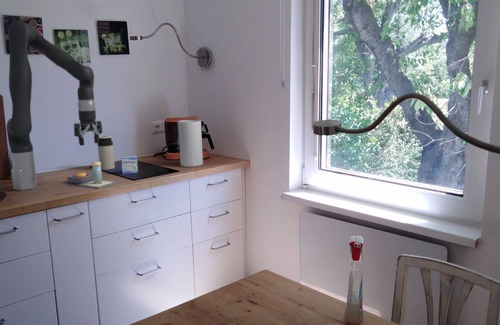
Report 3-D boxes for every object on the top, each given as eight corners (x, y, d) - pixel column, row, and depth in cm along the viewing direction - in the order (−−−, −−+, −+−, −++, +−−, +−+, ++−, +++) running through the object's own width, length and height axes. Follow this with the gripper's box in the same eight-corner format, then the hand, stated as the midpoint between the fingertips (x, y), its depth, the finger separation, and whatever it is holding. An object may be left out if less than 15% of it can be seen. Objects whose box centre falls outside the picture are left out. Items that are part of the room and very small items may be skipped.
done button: (80, 179, 221) (80, 175, 221) (73, 178, 224) (73, 174, 224) (88, 176, 226) (88, 173, 225) (81, 176, 228) (81, 172, 228)
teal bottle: (97, 184, 215) (95, 163, 213) (91, 183, 217) (89, 163, 215) (104, 182, 219) (102, 162, 217) (98, 181, 221) (96, 161, 219)
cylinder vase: (197, 167, 251) (195, 122, 247) (176, 166, 255) (174, 122, 251) (206, 163, 263) (204, 119, 258) (186, 162, 267) (184, 119, 262)
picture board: (98, 188, 210) (98, 187, 210) (77, 185, 217) (77, 184, 216) (117, 183, 220) (117, 181, 220) (97, 180, 227) (97, 179, 227)
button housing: (80, 184, 219) (79, 178, 219) (67, 182, 224) (67, 176, 223) (95, 180, 227) (94, 174, 226) (82, 178, 231) (82, 172, 231)
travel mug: (117, 167, 258) (115, 135, 254) (109, 170, 250) (106, 137, 247) (105, 167, 260) (102, 135, 256) (96, 170, 252) (94, 137, 249)
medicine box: (122, 174, 239) (121, 158, 238) (122, 172, 244) (121, 156, 242) (137, 173, 241) (136, 157, 240) (137, 171, 246) (136, 155, 244)
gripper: (79, 110, 205) (82, 146, 208) (104, 108, 217) (106, 142, 220) (68, 110, 209) (71, 145, 212) (93, 108, 221) (96, 141, 224)
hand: (89, 144), depth 216 cm, fingers open, 8 cm apart
